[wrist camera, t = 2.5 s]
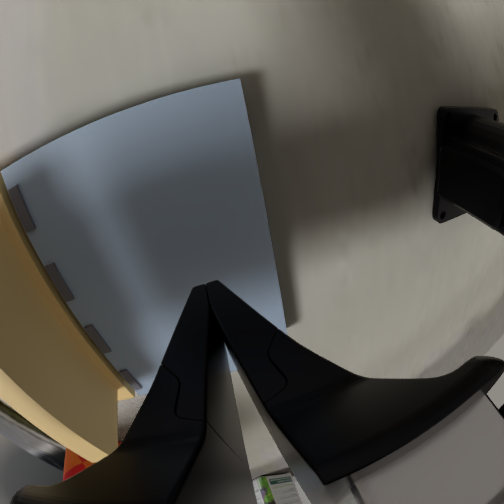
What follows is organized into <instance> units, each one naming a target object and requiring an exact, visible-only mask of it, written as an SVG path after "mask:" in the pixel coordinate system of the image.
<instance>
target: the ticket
mask: <svg viewBox="0 0 504 504" xmlns="http://www.w3.org/2000/svg"><path fill="white" fill-rule="evenodd" d="M0 172H1V174H2V177H3V180H4V183H5V185H6V188H7V190H8V193H9V195H10V198H11V200H12V203H13V205H14V207H15V210H16V212H17V214H18V216H19V219H20V221H21V223H22V225H23V227H24V229H25V231H26V233H27V235H28V237H29V239H30V241H31V243H32V245H33V247H34V249H35V251H36V253H37V255H38V257H39V258H40V260H41V262H42V264H43V266H44V267H45V269H46V271H47V273H48V274H49V276H50V278H51V279H52V281H53V283H54V284H55V286H56V288H57V289H58V291H59V292H60V294H61V296H62V297H63V299H64V300H65V302H66V303H67V305H68V306H69V308H70V309H71V311H72V312H73V314H74V315H75V317H76V318H77V319H78V321H79V322H80V324H81V325H82V327H83V328H84V329H85V331H86V332H87V333H88V335H89V336H90V337H91V339H92V340H93V341H94V343H95V344H96V345H97V347H98V348H99V349H100V350H101V352H102V353H103V354H104V355H105V357H106V358H107V359H108V360H109V362H110V363H111V364H112V365H113V366H114V368H115V369H116V370H117V371H118V372H119V373H120V375H121V376H122V377H123V378H124V379H125V380H126V381H127V382H128V384H129V385H130V386H131V387H132V388H133V389H134V390H135V391H136V392H137V393H138V394H139V396H141V395H146V394H148V392H149V390H150V388H151V386H152V383H153V381H154V379H155V376H156V374H157V371H158V369H159V366H160V365H161V362H162V359H163V357H164V354H165V352H166V349H167V347H168V344H169V342H170V340H171V337H172V335H173V332H174V330H175V327H176V325H177V323H178V320H179V318H180V316H181V313H182V311H183V308H184V306H185V304H186V301H187V299H188V297H189V295H190V292H191V290H192V288H193V287H195V286H198V285H201V284H205V285H206V283H208V282H211V281H214V280H219V281H220V282H221V283H223V284H224V285H225V286H226V287H227V288H229V289H230V290H231V291H232V292H234V293H235V294H236V295H237V296H238V297H240V298H241V299H242V300H243V301H245V302H246V303H247V304H248V305H250V306H251V307H252V308H253V309H255V310H256V311H257V312H258V313H260V314H261V315H262V316H263V317H265V318H266V319H267V320H268V321H270V322H271V323H272V324H273V325H275V326H276V327H277V328H278V329H280V330H281V331H283V332H284V333H285V334H286V335H287V330H286V324H285V317H284V311H283V305H282V299H281V293H280V287H279V281H278V275H277V269H276V264H275V258H274V252H273V246H272V241H271V235H270V230H269V224H268V219H267V213H266V208H265V202H264V197H263V191H262V186H261V181H260V175H259V170H258V165H257V160H256V155H255V150H254V144H253V139H252V134H251V129H250V124H249V119H248V114H247V109H246V105H245V100H244V95H243V90H242V85H241V81H240V78H239V79H234V80H229V81H224V82H219V83H215V84H210V85H206V86H202V87H197V88H193V89H190V90H186V91H182V92H178V93H175V94H171V95H168V96H164V97H161V98H158V99H155V100H152V101H148V102H145V103H142V104H139V105H137V106H134V107H131V108H128V109H125V110H123V111H120V112H117V113H115V114H112V115H109V116H107V117H104V118H102V119H100V120H97V121H95V122H92V123H90V124H88V125H86V126H83V127H81V128H79V129H77V130H74V131H72V132H70V133H68V134H66V135H64V136H62V137H60V138H58V139H56V140H54V141H52V142H50V143H48V144H46V145H44V146H42V147H41V148H39V149H37V150H35V151H33V152H31V153H30V154H28V155H26V156H24V157H23V158H21V159H19V160H18V161H16V162H14V163H13V164H11V165H10V166H8V167H6V168H5V169H3V170H2V171H0ZM224 343H225V342H224ZM225 346H226V345H225ZM226 351H227V356H228V362H229V368H230V373H231V372H234V371H237V369H236V366H235V364H234V362H233V360H232V358H231V356H230V354H229V352H228V350H227V347H226Z"/></svg>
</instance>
